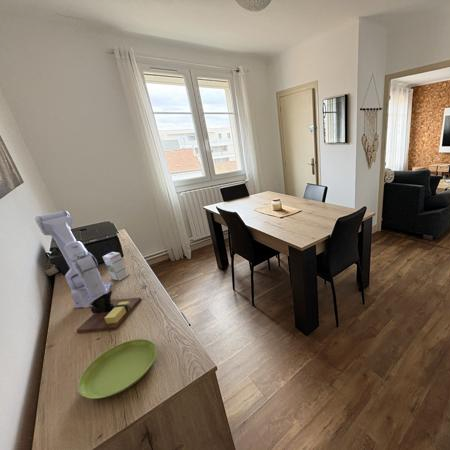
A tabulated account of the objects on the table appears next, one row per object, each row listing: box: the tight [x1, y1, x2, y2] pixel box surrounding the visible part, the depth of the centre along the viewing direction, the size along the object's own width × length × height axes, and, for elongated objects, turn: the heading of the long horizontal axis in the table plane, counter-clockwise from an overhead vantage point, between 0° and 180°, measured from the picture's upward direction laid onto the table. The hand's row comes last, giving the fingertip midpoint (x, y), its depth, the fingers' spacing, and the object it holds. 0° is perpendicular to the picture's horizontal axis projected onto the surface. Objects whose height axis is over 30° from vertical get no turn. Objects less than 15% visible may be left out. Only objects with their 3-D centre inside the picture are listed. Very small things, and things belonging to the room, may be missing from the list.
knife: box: [90, 304, 132, 314], centre depth 103 cm, size 16×2×3 cm, turn 93°
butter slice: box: [117, 301, 130, 310], centre depth 104 cm, size 4×2×3 cm, turn 93°
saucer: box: [77, 338, 157, 400], centre depth 77 cm, size 21×21×3 cm
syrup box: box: [102, 251, 129, 281], centre depth 129 cm, size 6×6×14 cm
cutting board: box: [76, 297, 142, 334], centre depth 103 cm, size 15×18×2 cm
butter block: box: [105, 307, 126, 324], centre depth 99 cm, size 4×6×3 cm, turn 3°
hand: (105, 309), depth 103 cm, fingers closed on knife, 2 cm apart
